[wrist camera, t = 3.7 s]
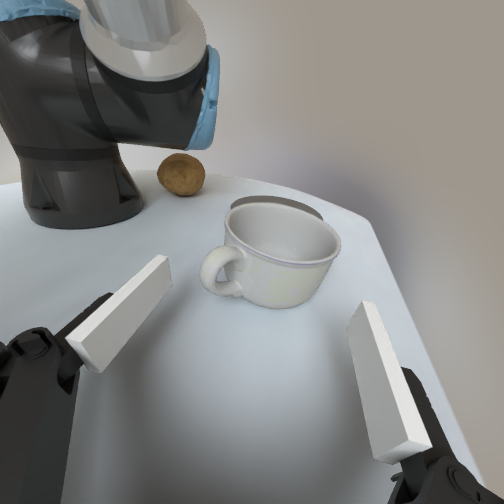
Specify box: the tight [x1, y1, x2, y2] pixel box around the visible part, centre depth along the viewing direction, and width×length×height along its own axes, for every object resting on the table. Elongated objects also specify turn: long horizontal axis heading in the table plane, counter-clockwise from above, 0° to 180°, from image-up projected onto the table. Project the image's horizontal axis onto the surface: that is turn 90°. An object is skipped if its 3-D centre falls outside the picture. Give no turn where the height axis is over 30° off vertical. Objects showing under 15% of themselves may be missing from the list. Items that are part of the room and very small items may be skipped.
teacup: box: [199, 202, 341, 309], centre depth 20 cm, size 14×11×8 cm
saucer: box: [231, 196, 323, 221], centre depth 39 cm, size 18×18×1 cm
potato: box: [157, 153, 205, 195], centre depth 43 cm, size 10×14×8 cm
